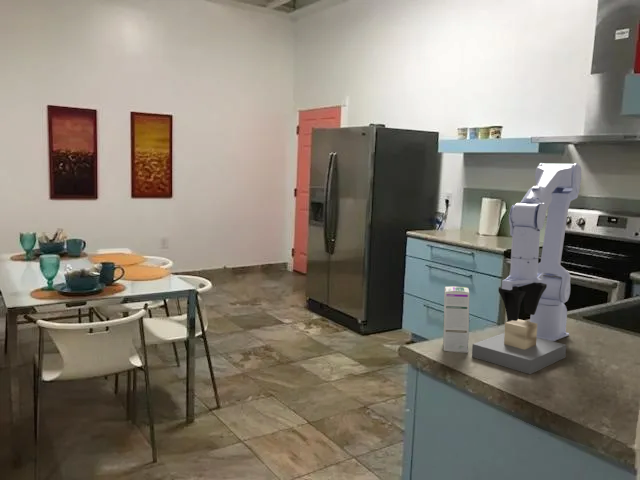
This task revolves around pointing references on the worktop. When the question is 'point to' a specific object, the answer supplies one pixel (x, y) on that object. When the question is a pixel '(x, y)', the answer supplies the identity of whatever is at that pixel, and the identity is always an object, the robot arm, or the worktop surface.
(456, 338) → the syrup box
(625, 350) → the worktop surface
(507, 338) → the birch block
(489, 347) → the plate
